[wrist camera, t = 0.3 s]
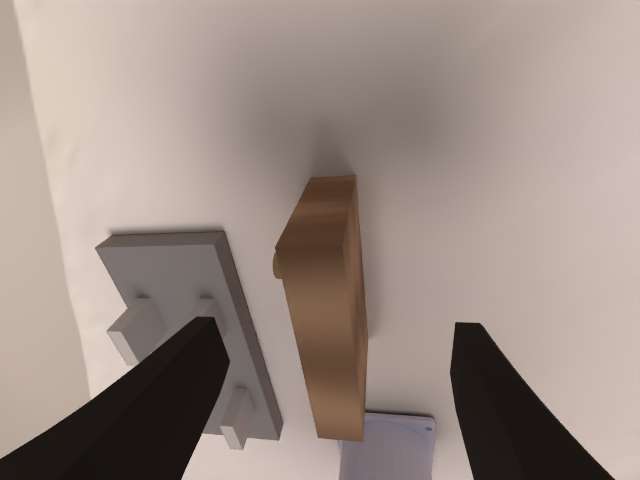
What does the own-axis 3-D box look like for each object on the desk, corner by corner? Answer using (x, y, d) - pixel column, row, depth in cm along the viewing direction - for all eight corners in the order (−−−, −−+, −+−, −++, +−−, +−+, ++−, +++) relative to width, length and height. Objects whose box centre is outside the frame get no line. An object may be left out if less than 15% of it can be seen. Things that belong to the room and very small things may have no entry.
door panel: (368, 339, 23) (363, 442, 17) (323, 337, 24) (303, 436, 18) (356, 174, 17) (342, 245, 11) (296, 178, 18) (253, 248, 12)
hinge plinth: (283, 423, 30) (269, 479, 26) (202, 416, 32) (178, 468, 28) (224, 231, 20) (187, 276, 16) (111, 235, 22) (54, 277, 18)
